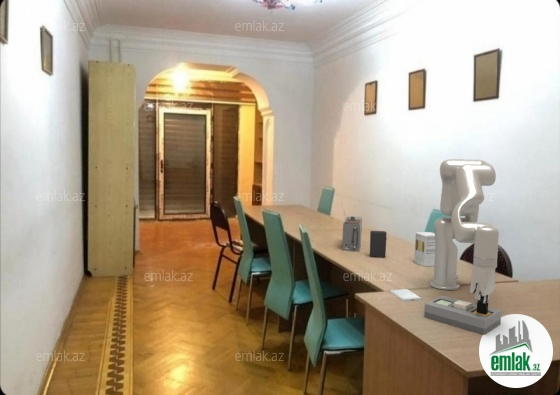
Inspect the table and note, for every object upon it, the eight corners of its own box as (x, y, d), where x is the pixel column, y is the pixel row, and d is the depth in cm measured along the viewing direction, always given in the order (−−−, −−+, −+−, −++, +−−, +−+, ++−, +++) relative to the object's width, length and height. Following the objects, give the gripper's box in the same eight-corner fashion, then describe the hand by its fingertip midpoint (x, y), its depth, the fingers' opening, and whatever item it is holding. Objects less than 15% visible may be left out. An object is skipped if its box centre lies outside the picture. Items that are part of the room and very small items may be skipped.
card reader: (385, 256, 262) (386, 230, 261) (386, 258, 259) (387, 232, 257) (369, 255, 264) (370, 230, 262) (369, 257, 260) (370, 231, 259)
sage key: (440, 306, 173) (441, 299, 172) (452, 309, 169) (452, 303, 169) (434, 309, 170) (435, 302, 169) (446, 312, 166) (446, 305, 166)
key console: (442, 307, 177) (442, 295, 177) (500, 324, 162) (501, 310, 161) (424, 316, 168) (424, 303, 167) (484, 334, 152) (485, 320, 151)
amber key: (477, 316, 163) (478, 309, 162) (490, 319, 159) (491, 313, 159) (472, 319, 160) (472, 312, 159) (485, 323, 156) (485, 316, 156)
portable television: (361, 244, 296) (363, 198, 293) (359, 252, 273) (361, 202, 270) (343, 243, 299) (344, 197, 296) (339, 250, 276) (341, 201, 273)
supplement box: (413, 262, 249) (414, 232, 247) (427, 261, 252) (429, 231, 250) (424, 266, 240) (425, 235, 238) (438, 265, 243) (440, 234, 241)
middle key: (458, 306, 168) (459, 300, 167) (471, 309, 164) (471, 303, 164) (453, 309, 164) (453, 302, 164) (465, 312, 161) (466, 306, 161)
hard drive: (389, 290, 196) (403, 298, 184) (407, 288, 198) (421, 297, 186) (389, 293, 197) (403, 302, 185) (407, 292, 198) (421, 301, 186)
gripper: (483, 256, 165) (480, 305, 167) (464, 263, 155) (462, 315, 157) (504, 260, 160) (501, 311, 161) (487, 267, 149) (484, 321, 151)
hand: (482, 313), depth 159 cm, fingers closed
